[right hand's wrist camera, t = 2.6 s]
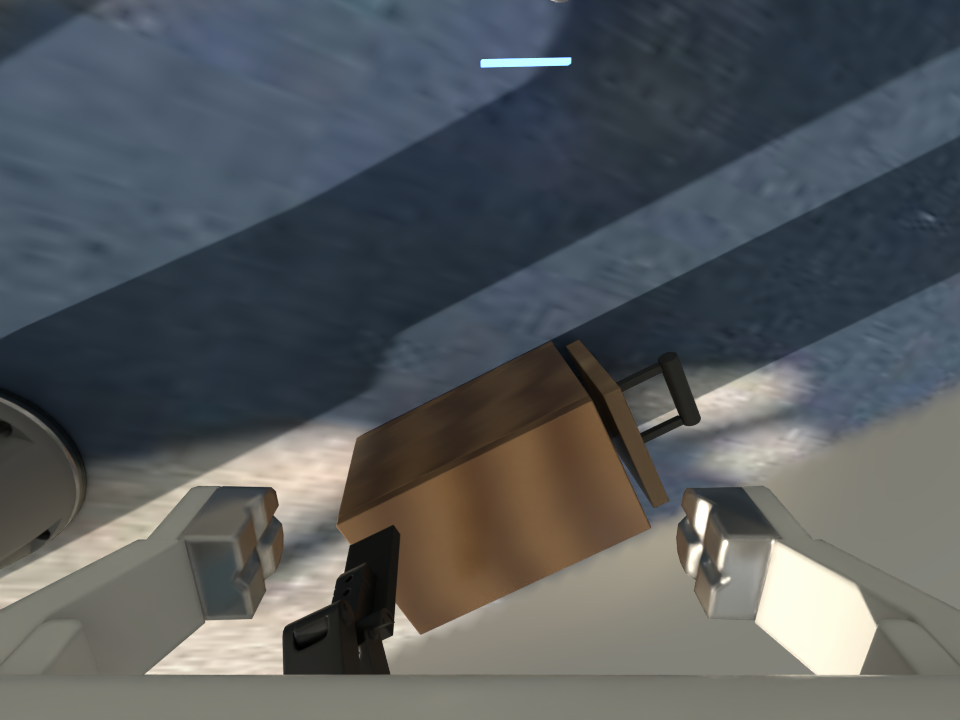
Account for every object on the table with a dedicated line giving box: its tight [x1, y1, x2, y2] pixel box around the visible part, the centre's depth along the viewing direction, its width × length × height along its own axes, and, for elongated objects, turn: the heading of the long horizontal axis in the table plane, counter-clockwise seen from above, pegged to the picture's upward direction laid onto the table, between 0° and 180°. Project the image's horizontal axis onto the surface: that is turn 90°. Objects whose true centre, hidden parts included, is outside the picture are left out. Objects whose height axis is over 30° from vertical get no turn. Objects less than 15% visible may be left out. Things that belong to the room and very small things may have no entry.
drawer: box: [566, 340, 701, 508], centre depth 40 cm, size 22×10×10 cm, turn 116°
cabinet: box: [336, 341, 651, 635], centre depth 40 cm, size 18×11×11 cm, turn 116°
